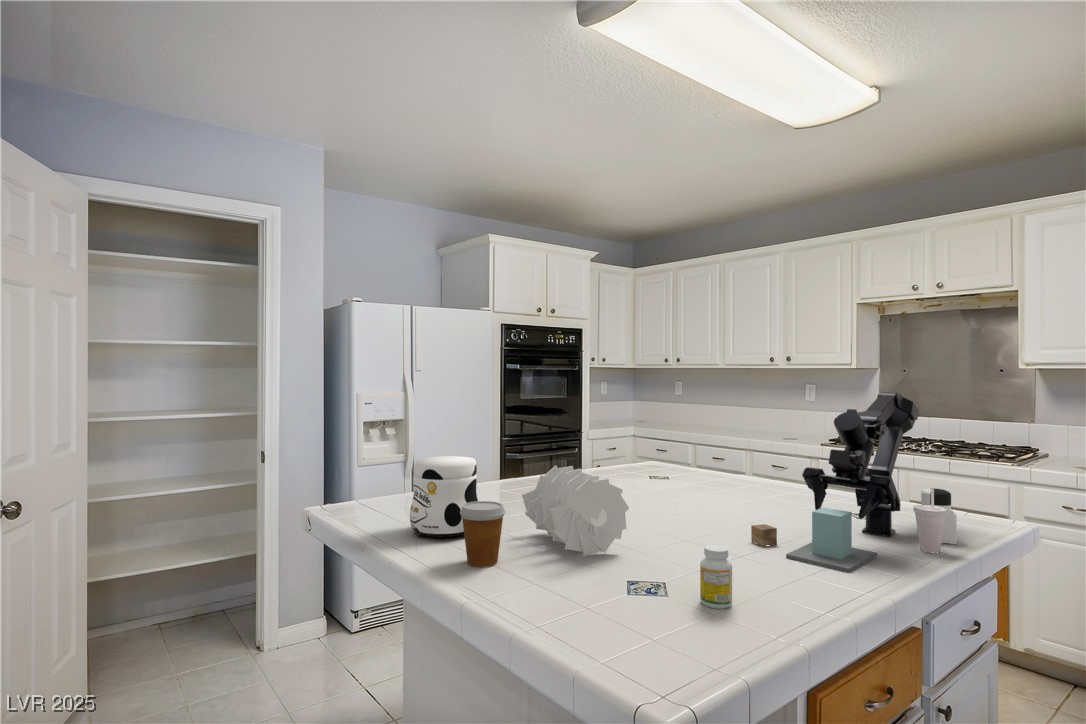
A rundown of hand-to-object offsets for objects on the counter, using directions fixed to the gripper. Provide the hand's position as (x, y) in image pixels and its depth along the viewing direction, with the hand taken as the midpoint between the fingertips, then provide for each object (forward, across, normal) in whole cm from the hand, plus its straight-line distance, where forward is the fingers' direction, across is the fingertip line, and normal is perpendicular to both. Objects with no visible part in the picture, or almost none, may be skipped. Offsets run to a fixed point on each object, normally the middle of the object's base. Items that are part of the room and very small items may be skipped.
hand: (837, 514), depth 133 cm
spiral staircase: (+33, -45, -21) cm, 59 cm away
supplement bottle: (+38, -3, -26) cm, 46 cm away
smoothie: (-6, +13, +19) cm, 24 cm away
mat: (+8, 0, +4) cm, 9 cm away
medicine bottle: (-14, +12, +28) cm, 33 cm away
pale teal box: (+8, 0, +3) cm, 9 cm away
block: (+9, -15, +3) cm, 18 cm away
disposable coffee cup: (+49, -48, -38) cm, 79 cm away
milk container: (+44, -74, -32) cm, 92 cm away
